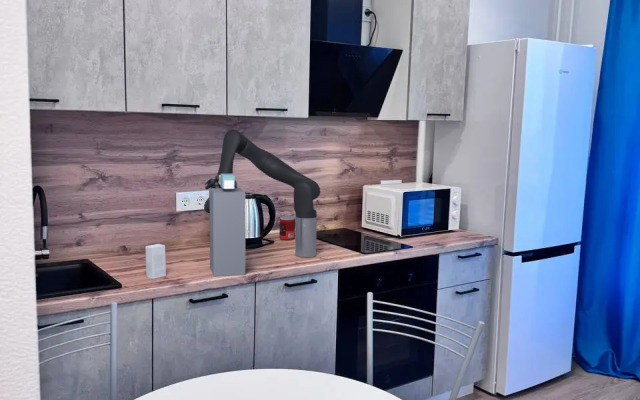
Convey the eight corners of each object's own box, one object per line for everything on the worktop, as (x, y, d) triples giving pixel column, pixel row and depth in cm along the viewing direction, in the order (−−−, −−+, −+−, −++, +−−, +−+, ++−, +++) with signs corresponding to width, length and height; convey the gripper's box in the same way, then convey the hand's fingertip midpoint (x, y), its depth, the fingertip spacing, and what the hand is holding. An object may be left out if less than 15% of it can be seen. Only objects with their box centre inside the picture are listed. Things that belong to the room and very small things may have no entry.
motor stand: (209, 267, 241) (209, 188, 236) (239, 266, 244) (239, 187, 240) (213, 276, 227) (213, 192, 223) (245, 274, 231) (245, 192, 226)
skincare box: (159, 274, 229) (158, 243, 228) (166, 276, 227) (165, 245, 225) (145, 277, 225) (145, 246, 223) (152, 279, 222) (151, 247, 220)
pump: (216, 182, 246) (216, 170, 245) (227, 182, 247) (227, 170, 246) (222, 188, 225) (222, 175, 224) (235, 188, 226) (235, 175, 225)
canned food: (296, 238, 302) (297, 216, 301) (292, 241, 295) (292, 219, 293) (282, 237, 304) (282, 215, 302) (277, 240, 296) (277, 218, 295)
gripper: (202, 185, 255) (205, 168, 240) (235, 184, 259) (240, 167, 244) (203, 201, 253) (206, 185, 237) (236, 200, 257) (241, 184, 241)
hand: (223, 176), depth 241 cm, fingers closed on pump, 3 cm apart
